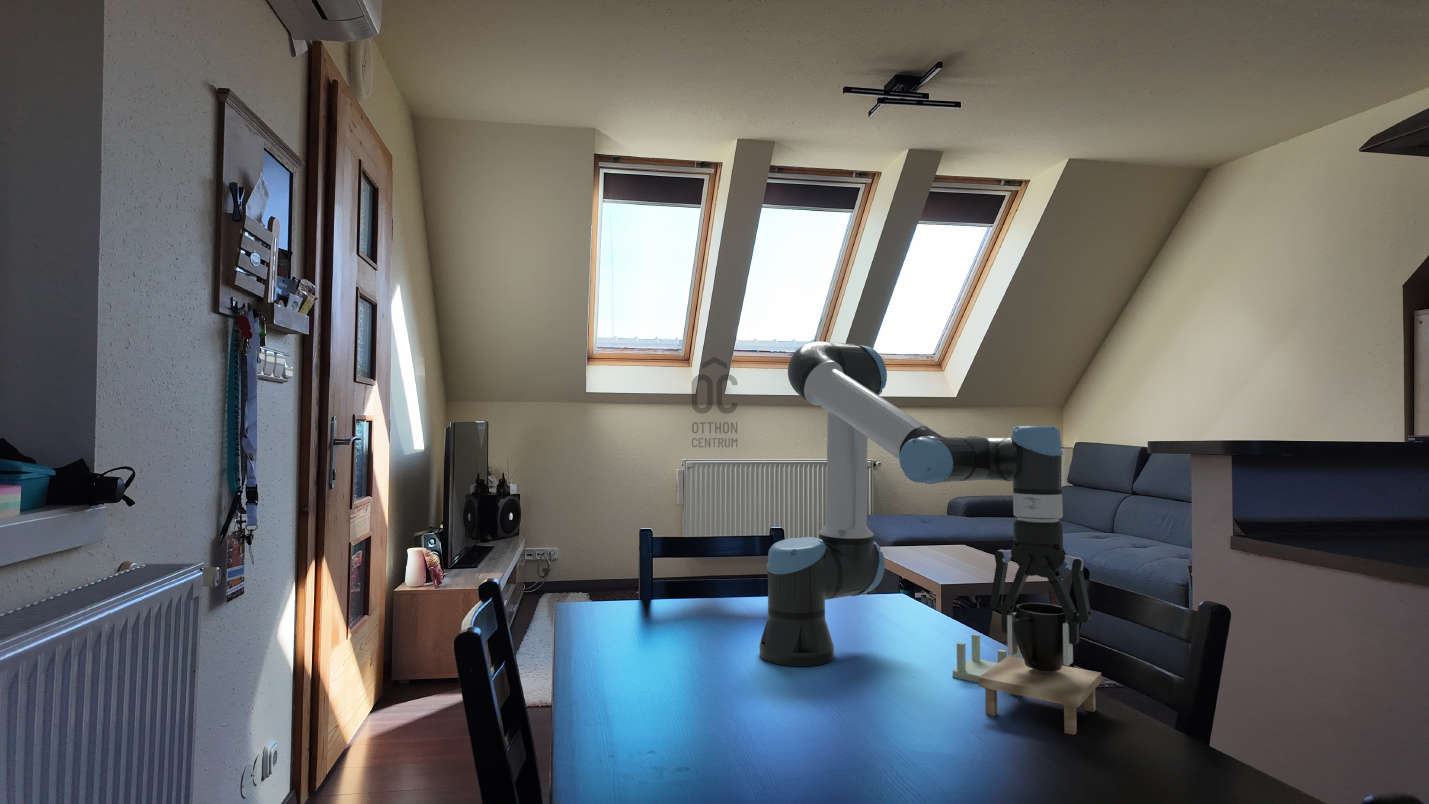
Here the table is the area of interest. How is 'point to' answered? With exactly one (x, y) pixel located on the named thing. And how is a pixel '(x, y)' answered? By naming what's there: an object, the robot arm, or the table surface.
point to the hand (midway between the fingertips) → (1039, 658)
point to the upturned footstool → (975, 661)
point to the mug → (1040, 635)
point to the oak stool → (1042, 687)
